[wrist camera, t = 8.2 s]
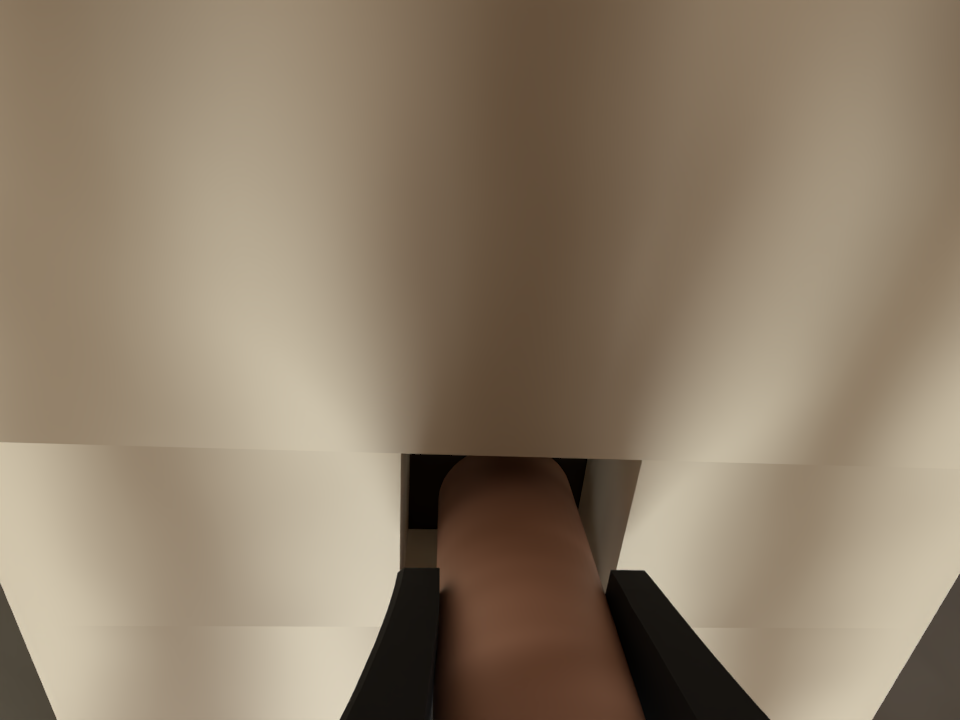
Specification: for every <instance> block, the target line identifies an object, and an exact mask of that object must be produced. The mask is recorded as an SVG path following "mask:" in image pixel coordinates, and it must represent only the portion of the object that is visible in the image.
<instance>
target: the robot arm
mask: <svg viewBox="0 0 960 720" xmlns="http://www.w3.org/2000/svg"><path fill="white" fill-rule="evenodd" d="M605 596H606V599H607V602H608V605H609V608H610V611H611V614H612V617H613V620H614V623H615V626H616V629H617V633H618V636H619V639H620V642H621V645H622V648H623V651H624V654H625V657H626V660H627V663H628V667H629V670H630V673H631V676H632V679H633V682H634V685H635V688H636V691H637V694H638V697H639V700H640V704H641V707H642V710H643V713H644V716H645V719H646V720H770V719H769V718H768V716H767V715H766V714H765V713H764V712H763V711H762V710H761V709H760V708H759V706H758V705H757V704H756V703H755V702H754V701H753V700H752V699H751V697H750V696H749V695H748V694H747V693H746V692H745V691H744V689H743V688H742V687H741V686H740V685H739V684H738V682H737V681H736V680H735V679H734V678H733V677H732V676H731V674H730V673H729V672H728V671H727V670H726V669H725V667H724V666H723V665H722V664H721V663H720V662H719V661H718V659H717V658H716V657H715V656H714V655H713V653H712V652H711V651H710V650H709V649H708V647H707V646H706V645H705V644H704V643H703V641H702V640H701V639H700V638H699V637H698V635H697V634H696V633H695V632H694V630H693V629H692V628H691V627H690V626H689V624H688V623H687V622H686V621H685V619H684V618H683V617H682V616H681V614H680V613H679V612H678V611H677V609H676V608H675V607H674V606H673V605H672V603H671V602H670V601H669V600H668V598H667V597H666V596H665V595H664V593H663V592H662V591H661V590H660V588H659V587H658V586H657V585H656V583H655V582H654V581H653V580H652V578H651V577H650V576H649V575H648V574H647V573H646V571H645V570H611V571H610V575H609V580H608V584H607V588H606V593H605ZM439 601H440V568H403V569H402V570H400V571H399V572H398V573H397V577H396V582H395V586H394V590H393V593H392V597H391V600H390V603H389V606H388V609H387V612H386V615H385V618H384V620H383V623H382V626H381V628H380V631H379V633H378V636H377V639H376V641H375V644H374V646H373V648H372V651H371V653H370V655H369V657H368V660H367V662H366V664H365V667H364V669H363V671H362V673H361V676H360V678H359V680H358V682H357V685H356V687H355V689H354V691H353V693H352V696H351V698H350V700H349V702H348V704H347V706H346V708H345V710H344V712H343V714H342V716H341V718H340V720H433V687H434V676H435V665H436V655H437V642H438V624H439Z"/></svg>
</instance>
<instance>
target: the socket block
mask: <svg viewBox="0 0 960 720" xmlns="http://www.w3.org/2000/svg"><path fill="white" fill-rule="evenodd" d="M410 454H440V455H476V456H512V457H548V458H584V459H587V465H586V470H585V476H584V481H583V486H582V492H581V497H580V502H579V508H578V512H579V515H580V518H581V522H582V525H583V528H584V531H585V534H586V537H587V540H588V543H589V546H590V549H591V552H592V555H593V559H594V562H595V565H596V568H597V571H598V574H599V577H600V580H601V583H602V586H603V589H604V592H605V593H606V588H607V584H608V580H609V575H610V571H611V570H645V571H646V573H647V574H648V575H649V576H650V577H651V578H652V580H653V581H654V582H655V583H656V585H657V586H658V587H659V588H660V590H661V591H662V592H663V593H664V595H665V596H666V597H667V598H668V600H669V601H670V602H671V603H672V605H673V606H674V607H675V608H676V609H677V611H678V612H679V613H680V614H681V616H682V617H683V618H684V619H685V621H686V622H687V623H688V624H689V626H690V627H691V628H692V629H693V630H694V632H695V633H696V634H697V635H698V637H699V638H700V639H701V640H702V641H703V643H704V644H705V645H706V646H707V647H708V649H709V650H710V651H711V652H712V653H713V655H714V656H715V657H716V658H717V659H718V661H719V662H720V663H721V664H722V665H723V666H724V667H725V669H726V670H727V671H728V672H729V673H730V674H731V676H732V677H733V678H734V679H735V680H736V681H737V682H738V684H739V685H740V686H741V687H742V688H743V689H744V691H745V692H746V693H747V694H748V695H749V696H750V697H751V699H752V700H753V701H754V702H755V703H756V704H757V705H758V706H759V708H760V709H761V710H762V711H763V712H764V713H765V714H766V715H767V716H768V718H769V719H770V720H872V719H873V717H874V715H875V714H876V712H877V710H878V709H879V707H880V705H881V704H882V702H883V700H884V699H885V697H886V695H887V694H888V692H889V690H890V689H891V687H892V685H893V684H894V682H895V680H896V679H897V677H898V675H899V674H900V672H901V670H902V669H903V667H904V665H905V664H906V662H907V660H908V659H909V657H910V655H911V654H912V652H913V650H914V649H915V647H916V645H917V644H918V642H919V640H920V639H921V637H922V635H923V634H924V632H925V630H926V629H927V627H928V625H929V624H930V622H931V620H932V619H933V617H934V615H935V614H936V612H937V610H938V609H939V607H940V605H941V604H942V602H943V600H944V599H945V597H946V595H947V594H948V592H949V590H950V589H951V587H952V585H953V584H954V582H955V580H956V579H957V577H958V575H959V574H960V0H0V583H1V585H2V588H3V590H4V592H5V595H6V597H7V600H8V602H9V604H10V607H11V609H12V612H13V614H14V617H15V619H16V621H17V624H18V626H19V629H20V631H21V633H22V636H23V638H24V641H25V643H26V646H27V648H28V650H29V653H30V655H31V658H32V660H33V663H34V665H35V667H36V670H37V672H38V675H39V677H40V679H41V682H42V684H43V687H44V689H45V692H46V694H47V696H48V699H49V701H50V704H51V706H52V708H53V711H54V713H55V716H56V718H57V720H340V718H341V716H342V714H343V712H344V710H345V708H346V706H347V704H348V702H349V700H350V698H351V696H352V693H353V691H354V689H355V687H356V685H357V682H358V680H359V678H360V676H361V673H362V671H363V669H364V667H365V664H366V662H367V660H368V657H369V655H370V653H371V651H372V648H373V646H374V644H375V641H376V639H377V636H378V633H379V631H380V628H381V626H382V623H383V620H384V618H385V615H386V612H387V609H388V606H389V603H390V600H391V597H392V593H393V590H394V586H395V582H396V577H397V573H398V572H399V571H400V570H402V569H403V568H437V532H438V529H409V477H410Z"/></svg>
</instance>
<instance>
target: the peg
mask: <svg viewBox="0 0 960 720" xmlns="http://www.w3.org/2000/svg"><path fill="white" fill-rule="evenodd" d="M437 568H440V601H439V624H438V642H437V655H436V665H435V676H434V687H433V720H646V719H645V716H644V713H643V710H642V707H641V704H640V700H639V697H638V694H637V691H636V688H635V685H634V682H633V679H632V676H631V673H630V670H629V667H628V663H627V660H626V657H625V654H624V651H623V648H622V645H621V642H620V639H619V636H618V633H617V629H616V626H615V623H614V620H613V617H612V614H611V611H610V608H609V605H608V602H607V599H606V596H605V592H604V589H603V586H602V583H601V580H600V577H599V574H598V571H597V568H596V565H595V562H594V559H593V555H592V552H591V549H590V546H589V543H588V540H587V537H586V534H585V531H584V528H583V525H582V522H581V518H580V515H579V512H578V509H577V506H576V503H575V500H574V497H573V494H572V491H571V488H570V485H569V481H568V479H567V477H566V474H565V473H564V471H563V470H562V468H561V467H560V466H559V465H558V463H557V462H555V461H554V460H553V459H552V458H548V457H512V456H476V455H468V456H466V457H465V458H463V459H462V460H460V461H459V462H458V463H457V464H456V465H454V466H453V468H452V469H451V470H450V471H449V472H448V474H447V475H446V477H445V478H444V480H443V482H442V485H441V488H440V491H439V498H438V532H437Z"/></svg>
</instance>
